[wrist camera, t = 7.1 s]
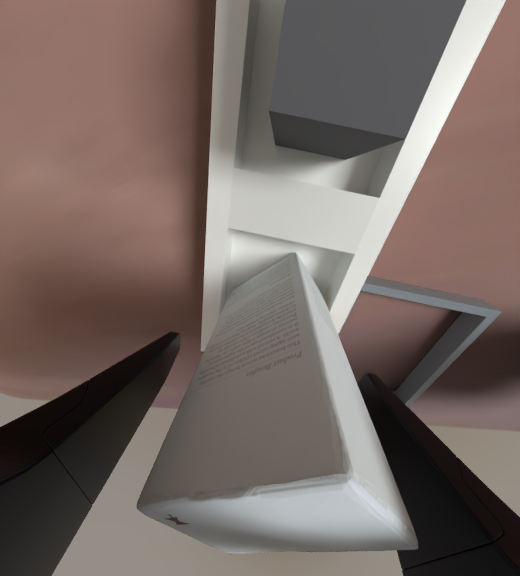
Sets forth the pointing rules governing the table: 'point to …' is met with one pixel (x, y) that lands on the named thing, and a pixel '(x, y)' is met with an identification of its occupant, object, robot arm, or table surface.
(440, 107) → the divided desk organizer
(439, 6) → the dark gray rectangular block
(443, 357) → the gray rectangular frame
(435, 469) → the robot arm
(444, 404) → the table surface
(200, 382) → the skincare box
